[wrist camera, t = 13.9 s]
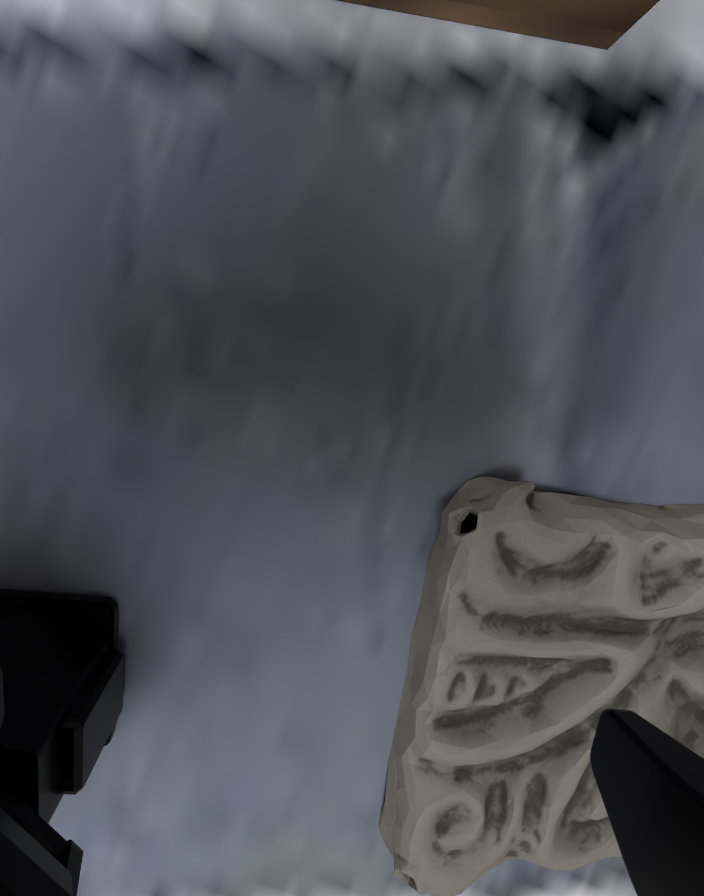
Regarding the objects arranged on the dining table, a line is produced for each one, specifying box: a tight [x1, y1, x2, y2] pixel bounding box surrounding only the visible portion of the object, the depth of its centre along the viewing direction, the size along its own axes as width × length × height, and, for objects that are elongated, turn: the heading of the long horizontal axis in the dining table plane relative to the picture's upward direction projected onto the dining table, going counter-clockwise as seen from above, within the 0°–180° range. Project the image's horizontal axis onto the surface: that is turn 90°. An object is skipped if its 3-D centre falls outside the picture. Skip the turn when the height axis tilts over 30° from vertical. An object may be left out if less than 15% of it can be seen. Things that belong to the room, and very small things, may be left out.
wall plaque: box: [379, 476, 704, 896], centre depth 23 cm, size 24×19×4 cm
